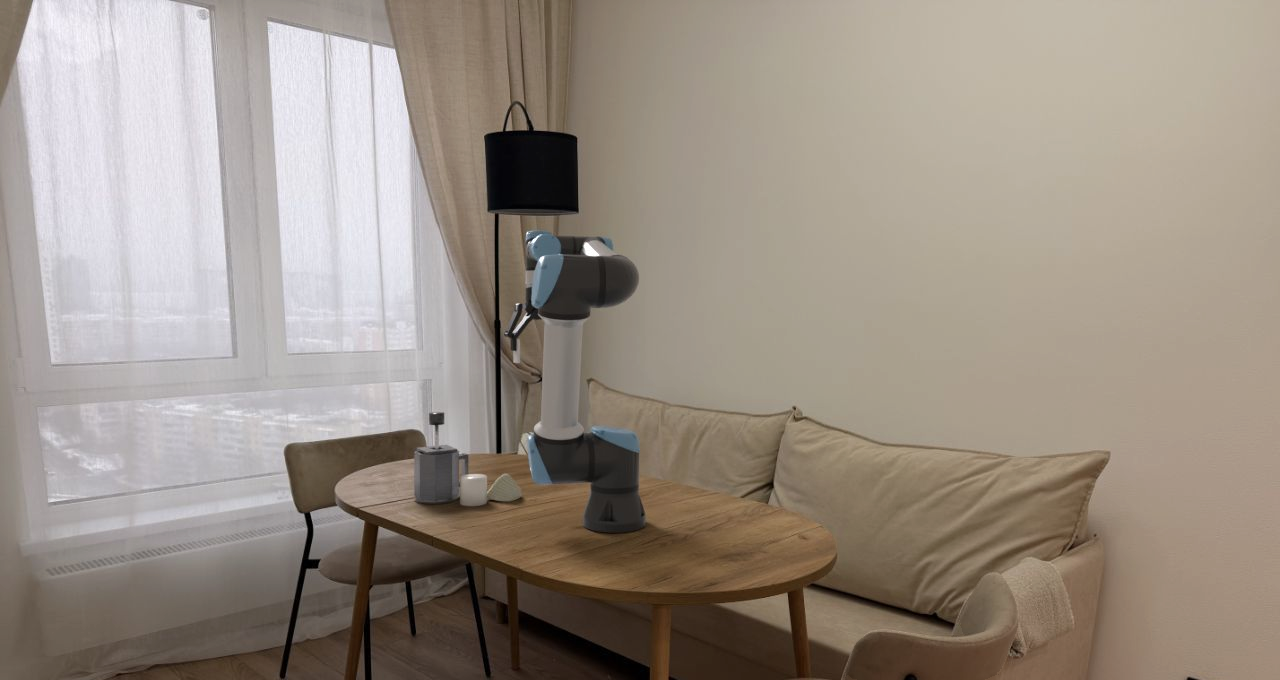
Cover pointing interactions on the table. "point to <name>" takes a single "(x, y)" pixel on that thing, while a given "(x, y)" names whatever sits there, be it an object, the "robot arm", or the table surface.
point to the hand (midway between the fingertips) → (538, 362)
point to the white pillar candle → (473, 489)
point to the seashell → (504, 489)
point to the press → (438, 474)
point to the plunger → (436, 424)
